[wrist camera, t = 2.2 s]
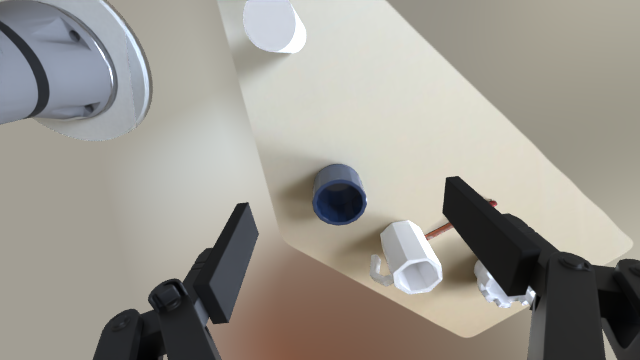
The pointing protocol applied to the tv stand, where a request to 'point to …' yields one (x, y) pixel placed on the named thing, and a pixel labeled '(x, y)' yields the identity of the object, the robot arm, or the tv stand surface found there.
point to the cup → (338, 195)
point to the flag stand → (497, 289)
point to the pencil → (447, 226)
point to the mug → (407, 259)
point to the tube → (273, 25)
